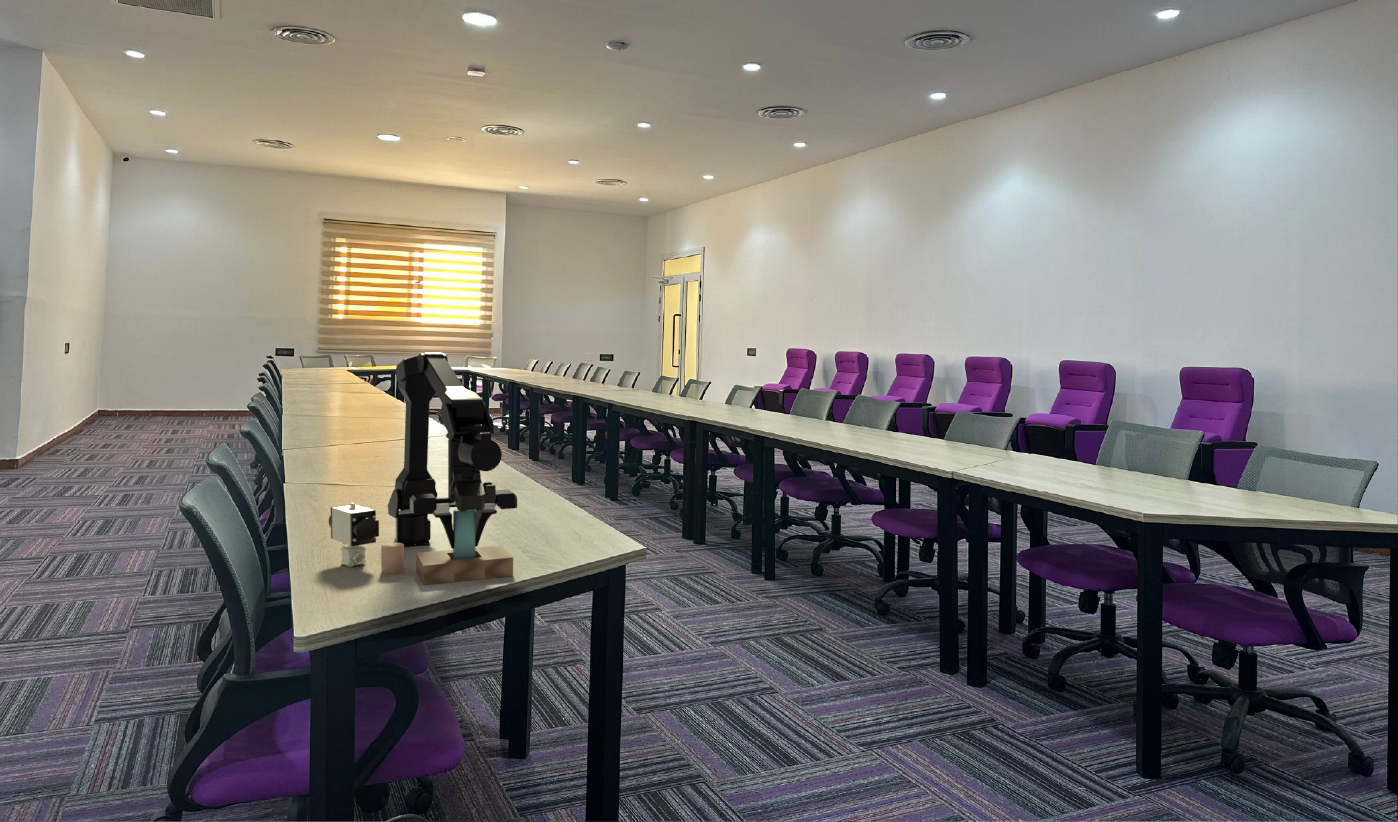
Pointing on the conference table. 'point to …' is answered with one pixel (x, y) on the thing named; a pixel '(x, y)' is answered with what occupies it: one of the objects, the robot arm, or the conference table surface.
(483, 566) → the bore board
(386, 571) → the short pin
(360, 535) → the pneumatic valve
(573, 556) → the conference table surface
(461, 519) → the tall pin
